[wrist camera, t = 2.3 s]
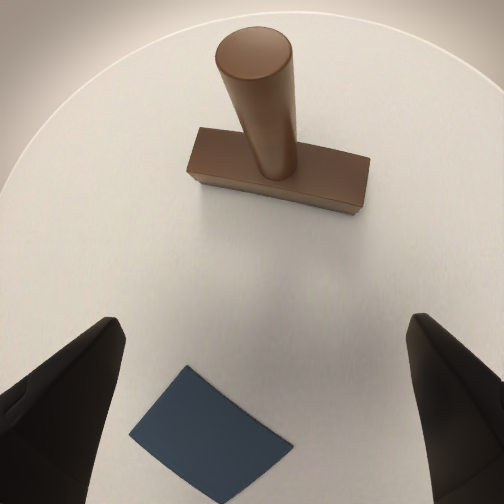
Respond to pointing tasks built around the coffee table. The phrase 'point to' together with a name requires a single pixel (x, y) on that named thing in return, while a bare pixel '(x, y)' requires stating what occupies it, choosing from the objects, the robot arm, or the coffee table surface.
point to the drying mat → (207, 438)
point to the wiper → (272, 133)
